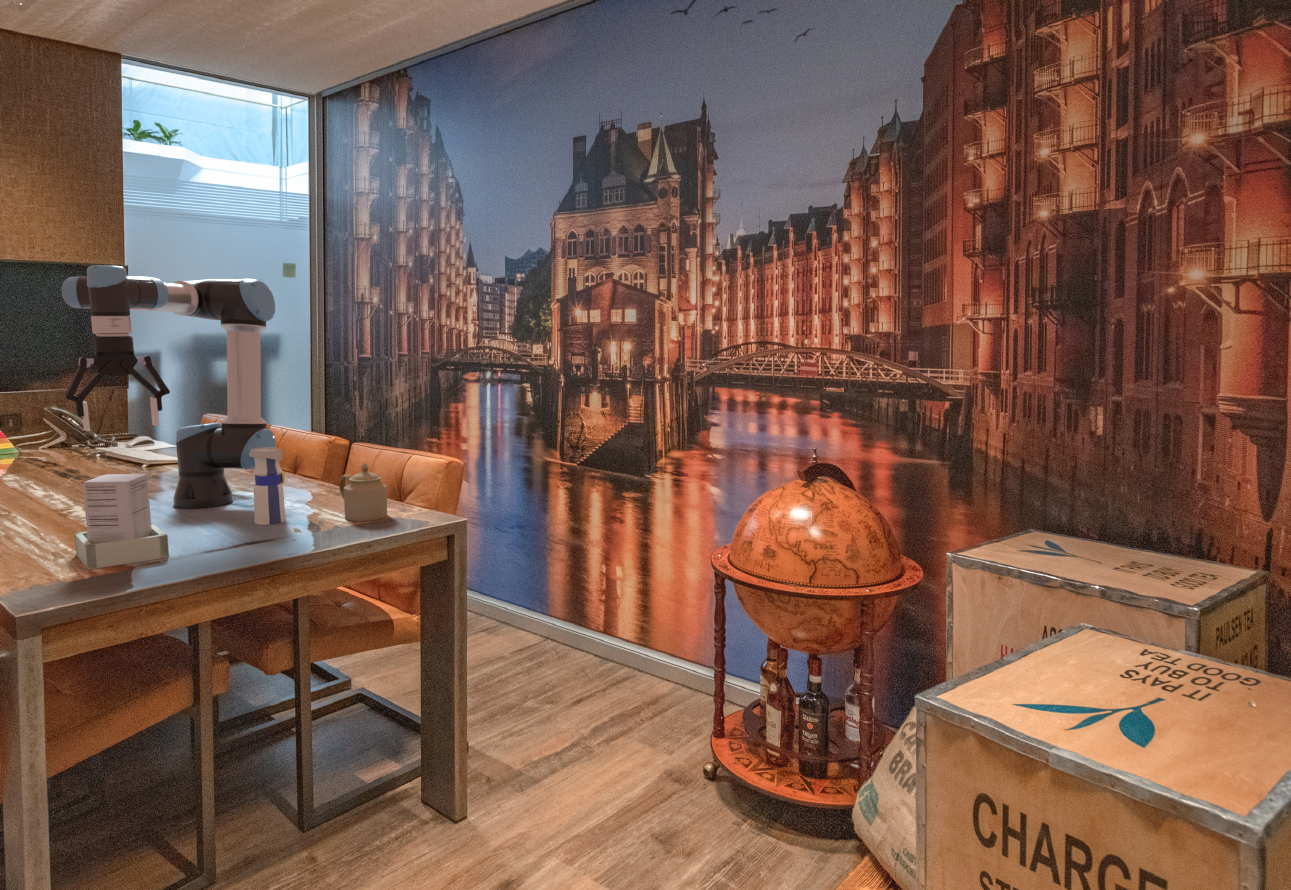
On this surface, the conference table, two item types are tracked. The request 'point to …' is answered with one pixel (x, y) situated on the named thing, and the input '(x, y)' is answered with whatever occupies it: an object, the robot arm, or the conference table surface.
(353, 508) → the sugar bowl
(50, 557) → the conference table surface
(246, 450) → the robot arm
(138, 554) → the crate
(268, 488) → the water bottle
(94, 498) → the supplement box
